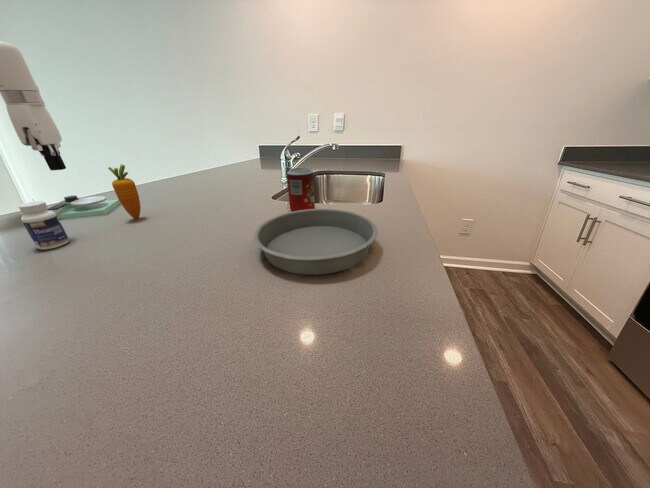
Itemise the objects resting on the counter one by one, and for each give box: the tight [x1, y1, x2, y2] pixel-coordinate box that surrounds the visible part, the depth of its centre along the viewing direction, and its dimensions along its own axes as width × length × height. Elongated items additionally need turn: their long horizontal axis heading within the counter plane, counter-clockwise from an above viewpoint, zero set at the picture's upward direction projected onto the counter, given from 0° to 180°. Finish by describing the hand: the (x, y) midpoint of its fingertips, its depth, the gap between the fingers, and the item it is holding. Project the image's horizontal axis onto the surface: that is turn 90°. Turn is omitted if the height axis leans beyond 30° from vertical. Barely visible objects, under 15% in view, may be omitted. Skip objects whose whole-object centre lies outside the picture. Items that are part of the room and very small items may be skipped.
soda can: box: [286, 167, 316, 212], centre depth 71 cm, size 7×7×12 cm
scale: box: [54, 197, 121, 220], centre depth 80 cm, size 14×12×3 cm
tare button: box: [63, 195, 79, 202], centre depth 81 cm, size 3×3×2 cm
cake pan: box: [252, 208, 379, 276], centre depth 53 cm, size 25×25×4 cm
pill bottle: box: [18, 200, 70, 251], centre depth 56 cm, size 5×5×10 cm
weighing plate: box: [71, 195, 107, 206], centre depth 79 cm, size 8×8×1 cm
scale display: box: [47, 203, 67, 211], centre depth 75 cm, size 2×5×1 cm, turn 17°
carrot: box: [107, 164, 141, 221], centre depth 69 cm, size 5×5×15 cm
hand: (58, 169), depth 77 cm, fingers closed
